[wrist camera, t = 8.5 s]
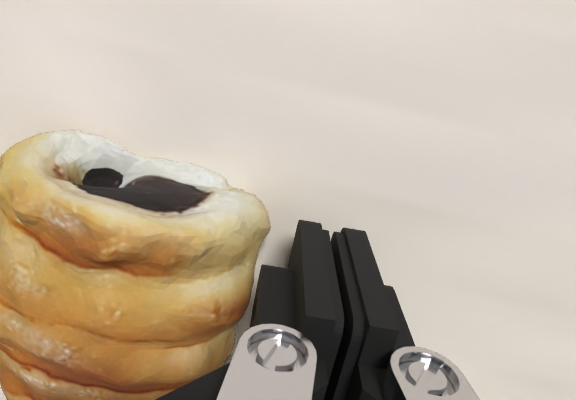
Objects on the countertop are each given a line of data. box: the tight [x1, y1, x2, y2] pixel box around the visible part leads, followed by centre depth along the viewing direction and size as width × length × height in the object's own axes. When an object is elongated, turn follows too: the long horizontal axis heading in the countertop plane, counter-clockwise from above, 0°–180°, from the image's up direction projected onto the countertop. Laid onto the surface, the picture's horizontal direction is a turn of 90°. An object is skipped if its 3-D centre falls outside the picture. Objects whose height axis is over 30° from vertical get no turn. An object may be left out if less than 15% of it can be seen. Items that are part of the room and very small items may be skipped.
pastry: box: [0, 130, 270, 400], centre depth 12 cm, size 9×7×4 cm
